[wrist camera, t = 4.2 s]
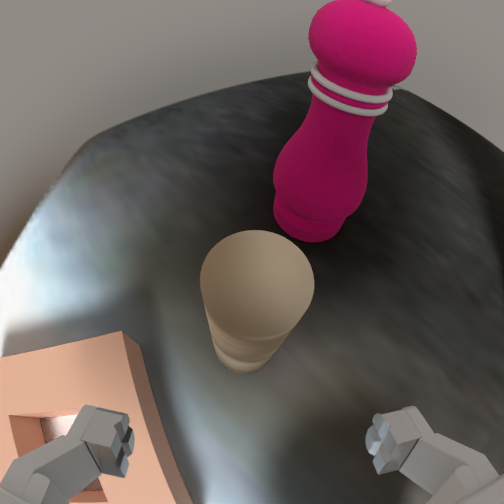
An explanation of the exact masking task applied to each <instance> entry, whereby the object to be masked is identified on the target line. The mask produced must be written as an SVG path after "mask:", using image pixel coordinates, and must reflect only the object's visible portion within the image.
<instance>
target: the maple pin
mask: <svg viewBox="0 0 504 504" xmlns="http://www.w3.org/2000/svg"><path fill="white" fill-rule="evenodd" d="M200 288H201V293H202V297H203V302H204V306H205V311H206V315H207V319H208V323H209V328H210V332H211V336H212V340H213V344H214V348H215V352H216V355H217V358H218V359H219V361H220V362H221V364H222V365H223V366H224V367H226V368H227V369H229V370H231V371H233V372H236V373H241V374H247V373H253V372H255V371H258V370H259V369H261V368H262V367H264V366H265V365H266V364H267V362H268V361H269V360H270V358H271V357H272V356H273V355H274V353H275V352H276V351H277V349H278V348H279V347H280V346H281V344H282V343H283V342H284V340H285V339H286V338H287V336H288V335H289V334H290V332H291V331H292V330H293V328H294V327H295V326H296V324H297V323H298V321H299V320H300V319H301V317H302V316H303V315H304V313H305V312H306V310H307V309H308V307H309V305H310V303H311V300H312V297H313V293H314V275H313V271H312V268H311V266H310V263H309V261H308V259H307V258H306V256H305V255H304V253H303V252H302V251H301V250H300V249H299V248H298V247H297V246H296V245H295V244H294V243H292V242H291V241H290V240H288V239H286V238H285V237H283V236H281V235H278V234H275V233H272V232H268V231H262V230H248V231H242V232H238V233H235V234H232V235H230V236H228V237H226V238H224V239H223V240H221V241H220V242H219V243H217V244H216V245H215V246H214V247H213V248H212V249H211V250H210V252H209V253H208V255H207V256H206V258H205V260H204V262H203V265H202V268H201V273H200Z"/></svg>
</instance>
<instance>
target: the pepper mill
mask: <svg viewBox="0 0 504 504" xmlns="http://www.w3.org/2000/svg"><path fill="white" fill-rule="evenodd" d="M392 1H393V0H336V1H332V2H330V3H327V4H326V5H324V6H323V7H322V8H321V9H319V10H318V11H317V13H316V14H315V16H314V17H313V20H312V22H311V25H310V28H309V37H308V38H309V43H310V47H311V49H312V51H313V53H314V55H315V56H316V58H317V59H318V61H317V62H315V63H313V64H312V66H311V76H310V77H309V79H308V86H309V88H310V90H311V91H312V93H313V95H312V103H311V105H310V108H309V111H308V114H307V116H306V118H305V120H304V122H303V123H302V125H301V127H300V128H299V129H298V130H297V132H296V133H295V134H294V135H293V136H292V137H291V138H290V140H289V141H288V142H287V143H286V144H285V145H284V147H283V149H282V151H281V152H280V154H279V156H278V158H277V161H276V164H275V168H274V172H273V183H274V187H275V190H276V195H275V200H274V205H273V213H274V217H275V219H276V221H277V223H278V225H279V226H280V227H281V228H282V230H284V231H285V232H286V233H287V234H289V235H290V236H292V237H294V238H296V239H298V240H301V241H305V242H322V241H326V240H328V239H330V238H332V237H333V236H335V235H336V234H337V233H338V231H339V230H340V228H341V226H342V224H343V222H344V220H345V218H346V217H347V216H349V215H351V214H352V213H353V212H354V211H356V209H357V208H358V207H359V205H360V204H361V201H362V199H363V196H364V194H365V191H366V187H367V180H368V167H367V144H368V137H369V134H370V130H371V127H372V124H373V122H374V120H375V118H376V116H377V115H381V114H383V113H384V112H385V111H386V110H387V108H388V101H389V100H390V99H391V98H392V95H393V93H392V89H391V87H390V86H392V85H394V84H397V83H399V82H401V81H403V80H404V79H405V78H407V76H409V75H410V73H411V71H412V68H413V67H414V63H415V59H416V55H417V47H416V41H415V38H414V35H413V33H412V31H411V30H410V28H409V27H408V25H407V24H406V23H405V22H404V21H403V20H402V19H401V18H400V17H399V16H398V15H396V14H395V13H393V12H392V11H390V10H388V9H386V8H385V7H387V6H389V5H390V4H391V2H392Z"/></svg>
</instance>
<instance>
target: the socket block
mask: <svg viewBox="0 0 504 504" xmlns="http://www.w3.org/2000/svg"><path fill="white" fill-rule="evenodd" d="M85 404H87V405H91V406H95V407H100V408H104V409H109V410H113V411H118V412H123V413H126V414H128V416H129V419H130V422H129V426H130V427H131V428H132V429H133V432H134V437H135V443H134V450H133V453H132V454H131V455H130V456H129V457H127V459H128V462H129V467H128V470H127V473H126V477H125V478H121V477H116V476H112V475H107V474H103V473H101V474H102V475H100V476H99V477H98V478H99V481H100V483H101V486H102V488H103V490H97V491H81V492H79V493H78V494H77V495H75V496H74V497H73V498H72V499H70V500H69V501H68V502H69V503H70V504H193V501H192V499H191V497H190V495H189V493H188V490H187V488H186V486H185V483H184V481H183V478H182V476H181V474H180V471H179V469H178V466H177V463H176V461H175V458H174V456H173V453H172V450H171V448H170V445H169V442H168V439H167V436H166V433H165V430H164V428H163V425H162V421H161V418H160V415H159V412H158V409H157V406H156V402H155V399H154V396H153V392H152V389H151V385H150V382H149V378H148V374H147V371H146V367H145V363H144V359H143V355H142V351H141V347H140V345H139V344H138V343H137V342H135V341H134V340H133V339H132V338H130V337H129V336H128V335H127V334H125V333H124V332H123V331H122V330H121V331H117V332H113V333H109V334H105V335H101V336H97V337H93V338H89V339H84V340H80V341H76V342H72V343H67V344H63V345H58V346H54V347H49V348H45V349H40V350H35V351H31V352H26V353H21V354H16V355H11V356H6V357H1V358H0V483H1V481H2V479H3V477H4V475H5V474H6V472H7V470H8V468H9V467H10V465H11V463H12V461H13V460H14V459H17V458H19V457H21V456H23V455H25V454H27V453H29V452H31V451H33V450H35V449H37V448H39V447H41V446H43V445H45V444H46V442H45V439H44V435H43V431H42V427H41V422H40V418H47V417H57V416H65V415H73V414H79V412H80V410H81V408H82V407H83V406H84V405H85Z"/></svg>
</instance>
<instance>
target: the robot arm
mask: <svg viewBox="0 0 504 504" xmlns="http://www.w3.org/2000/svg"><path fill="white" fill-rule="evenodd" d="M129 422H130V419H129V416H128V414H126V413H123V412H118V411H113V410H109V409H104V408H100V407H95V406H91V405H87V404H85V405H84V406H83V407H82V408H81V410H80V412H79V414H78V415H77V417H76V419H75V421H74V423H73V424H72V426H71V428H70V430H69V432H68V434H67V436H64V435H62V436H60V437H58V438H56V439H54V440H52V441H51V442H49V443H47V444H45V445H43V446H41V447H39V448H37V449H35V450H33V451H31V452H29V453H27V454H25V455H23V456H21V457H19V458H17V459H14V460H13V461H12V463H11V465H10V467H9V468H8V470H7V472H6V474H5V475H4V477H3V479H2V481H1V483H0V504H70V503H69V502H68V501H69V500H70V499H72V498H73V497H74V496H75V495H77V494H78V493H79V492H81V491H82V490H83V489H84V488H86V487H87V486H88V485H89V484H91V483H92V482H93V481H94V480H96V479H97V478H98V477H99V476H100V475H102V474H101V473H103V474H107V475H112V476H116V477H121V478H125V477H126V473H127V470H128V467H129V462H128V459H127V457H129V456H130V455H131V454H132V453H133V450H134V443H135V437H134V432H133V429H132V428H131V427H130V426H129ZM372 422H373V424H374V425H372V426H371V427H370V428H369V429H368V431H367V434H366V441H365V442H366V447H367V450H368V452H369V453H370V454H372V455H373V456H374V459H373V461H372V462H373V464H374V466H375V468H376V471H377V473H378V475H380V474H384V473H388V472H392V471H396V470H399V471H400V472H401V473H402V474H404V475H405V476H406V477H408V478H409V479H411V480H412V481H413V482H415V483H416V484H417V485H419V486H420V487H422V488H423V489H424V490H426V491H427V492H429V493H430V494H431V495H433V496H432V497H431V498H430V499H429V500H428V501H427V502H426V503H425V504H504V473H503V474H502V475H500V476H499V475H498V473H497V472H496V471H495V469H494V468H493V466H492V465H491V463H490V462H489V461H488V459H487V458H486V456H485V455H484V454H482V453H480V452H477V451H475V450H473V449H471V448H468V447H466V446H464V445H462V444H460V443H458V442H455V441H453V440H451V439H449V438H447V437H445V436H443V435H441V434H439V433H436V434H434V432H433V431H432V429H431V428H430V426H429V425H428V423H427V422H426V420H425V419H424V417H423V416H422V415H421V413H420V412H419V410H418V409H417V407H415V406H409V407H405V408H399V409H395V410H390V411H385V412H380V413H377V414H375V415H374V417H373V420H372Z"/></svg>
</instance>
